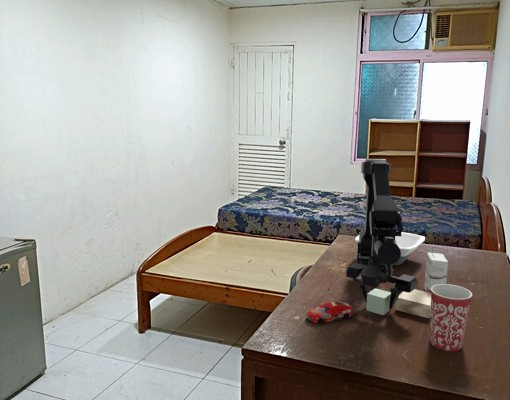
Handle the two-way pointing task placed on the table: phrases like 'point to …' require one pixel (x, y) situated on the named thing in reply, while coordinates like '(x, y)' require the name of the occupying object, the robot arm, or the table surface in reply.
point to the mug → (448, 316)
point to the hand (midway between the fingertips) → (378, 306)
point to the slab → (415, 303)
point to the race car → (330, 312)
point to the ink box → (435, 270)
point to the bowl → (405, 244)
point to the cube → (378, 301)
